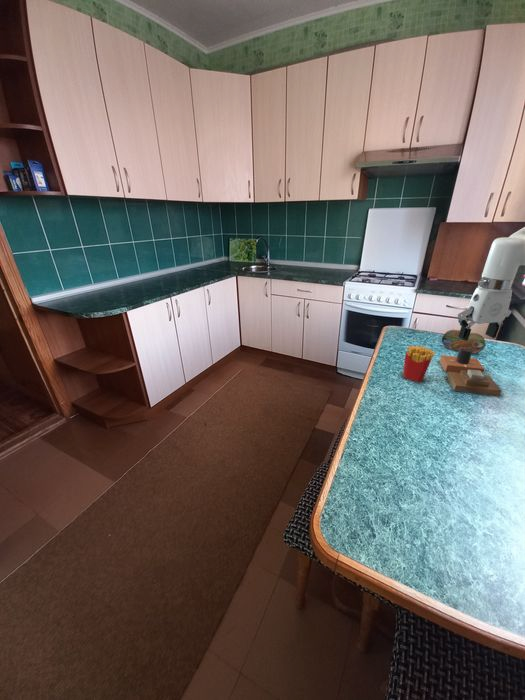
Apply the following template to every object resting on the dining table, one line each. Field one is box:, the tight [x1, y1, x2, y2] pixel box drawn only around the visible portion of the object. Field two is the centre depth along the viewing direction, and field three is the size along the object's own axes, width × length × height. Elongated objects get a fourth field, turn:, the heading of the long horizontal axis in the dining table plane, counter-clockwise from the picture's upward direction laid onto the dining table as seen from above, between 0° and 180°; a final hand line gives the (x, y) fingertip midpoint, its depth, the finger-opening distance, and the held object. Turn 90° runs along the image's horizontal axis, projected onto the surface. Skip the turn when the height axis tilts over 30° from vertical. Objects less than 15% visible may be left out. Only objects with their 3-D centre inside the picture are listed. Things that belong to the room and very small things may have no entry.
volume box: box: [439, 354, 486, 374], centre depth 109 cm, size 12×8×3 cm
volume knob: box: [456, 347, 473, 364], centre depth 107 cm, size 4×4×6 cm
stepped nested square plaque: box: [446, 370, 502, 397], centre depth 98 cm, size 13×9×4 cm
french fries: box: [402, 345, 435, 383], centre depth 102 cm, size 8×4×12 cm, turn 54°
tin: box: [441, 329, 486, 355], centre depth 121 cm, size 15×3×8 cm, turn 55°
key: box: [467, 370, 485, 380], centre depth 97 cm, size 4×4×2 cm
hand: (476, 337), depth 91 cm, fingers open, 9 cm apart
